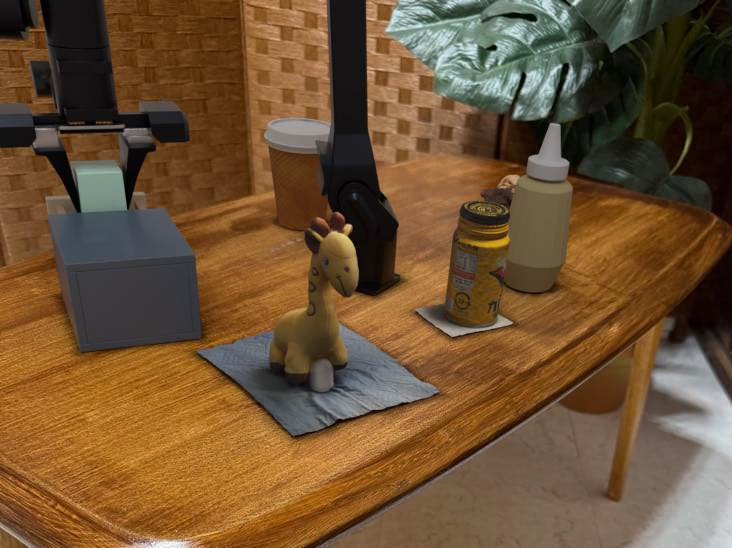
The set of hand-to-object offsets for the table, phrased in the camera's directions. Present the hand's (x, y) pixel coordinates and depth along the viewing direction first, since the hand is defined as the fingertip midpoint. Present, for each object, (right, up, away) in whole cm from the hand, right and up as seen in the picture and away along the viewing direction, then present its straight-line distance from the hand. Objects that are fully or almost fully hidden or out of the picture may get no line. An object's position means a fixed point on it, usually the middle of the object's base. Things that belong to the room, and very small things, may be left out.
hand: (102, 210), depth 90 cm
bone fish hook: (+49, +13, +35) cm, 61 cm away
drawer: (-1, -5, +4) cm, 6 cm away
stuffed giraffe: (+24, -19, -9) cm, 32 cm away
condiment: (+39, -11, +4) cm, 41 cm away
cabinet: (+4, -12, -3) cm, 13 cm away
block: (0, -1, +1) cm, 1 cm away
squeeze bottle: (+47, -4, +13) cm, 49 cm away
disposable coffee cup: (+18, +7, +24) cm, 31 cm away
